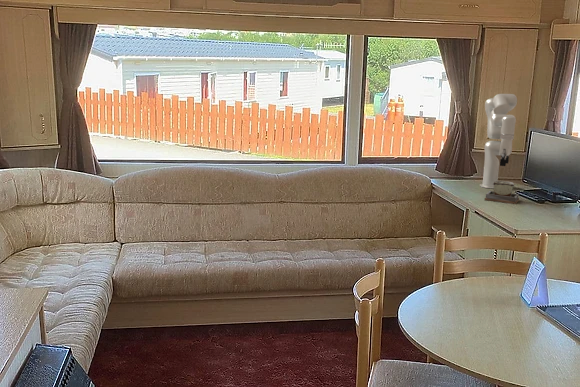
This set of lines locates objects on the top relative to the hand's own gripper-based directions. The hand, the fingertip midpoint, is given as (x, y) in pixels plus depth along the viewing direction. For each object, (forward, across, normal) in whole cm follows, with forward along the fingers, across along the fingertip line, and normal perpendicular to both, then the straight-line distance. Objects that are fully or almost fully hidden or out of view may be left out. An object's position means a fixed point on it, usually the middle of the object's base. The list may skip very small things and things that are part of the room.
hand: (504, 164), depth 344 cm
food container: (+20, +3, +1) cm, 21 cm away
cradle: (+21, +4, +2) cm, 22 cm away
